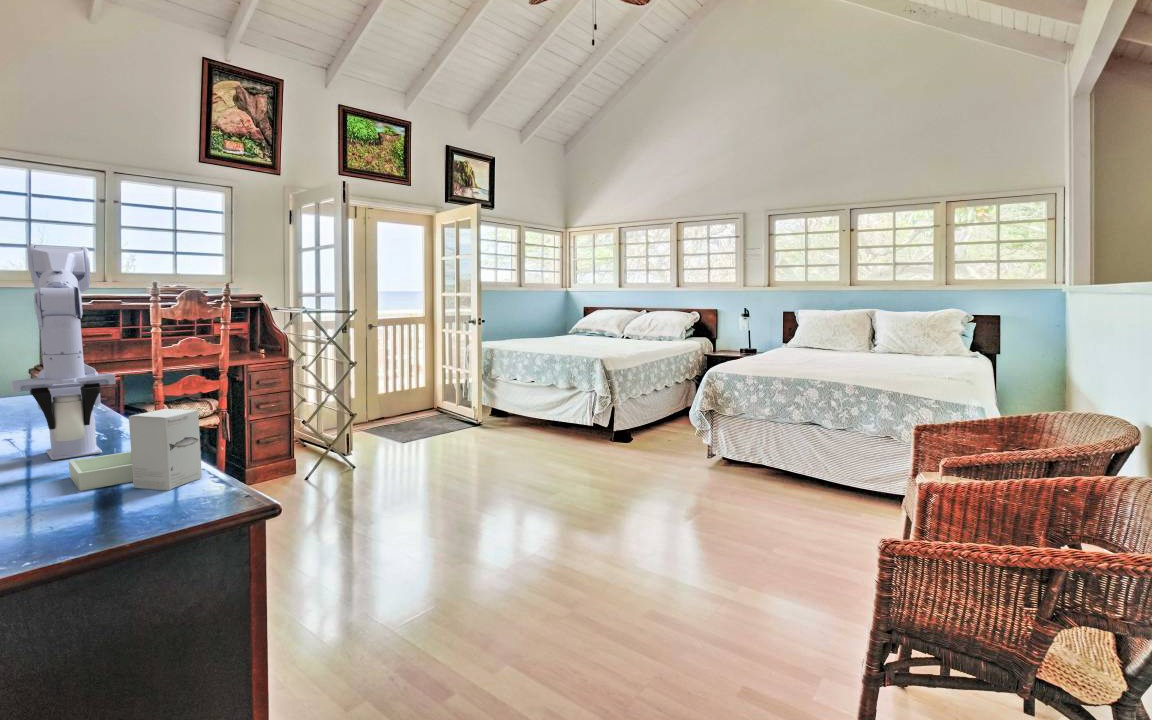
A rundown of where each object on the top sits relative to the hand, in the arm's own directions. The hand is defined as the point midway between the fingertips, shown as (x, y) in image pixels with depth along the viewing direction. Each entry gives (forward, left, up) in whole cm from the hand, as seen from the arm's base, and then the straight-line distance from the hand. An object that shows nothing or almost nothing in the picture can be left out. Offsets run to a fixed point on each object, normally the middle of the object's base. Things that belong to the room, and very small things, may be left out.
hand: (69, 426), depth 113 cm
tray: (+11, +4, -8) cm, 14 cm away
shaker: (0, 0, -2) cm, 2 cm away
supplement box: (+22, +10, -9) cm, 25 cm away
